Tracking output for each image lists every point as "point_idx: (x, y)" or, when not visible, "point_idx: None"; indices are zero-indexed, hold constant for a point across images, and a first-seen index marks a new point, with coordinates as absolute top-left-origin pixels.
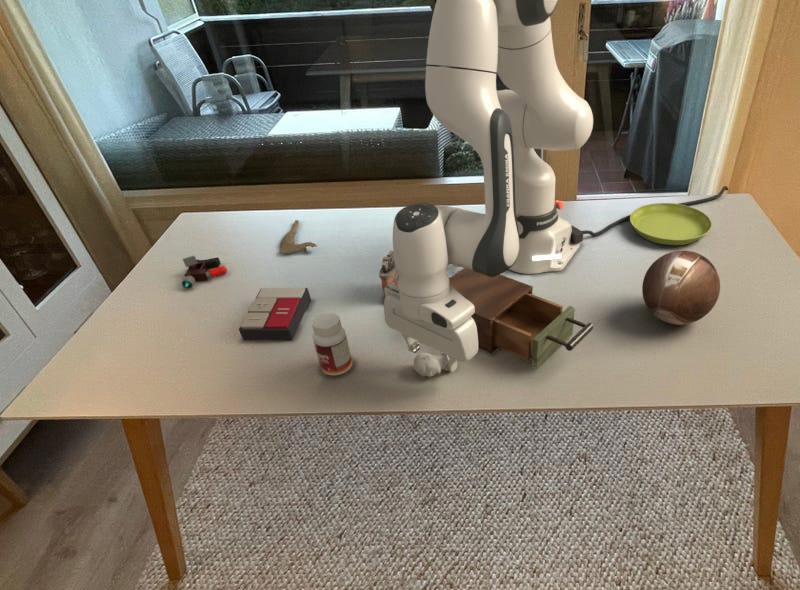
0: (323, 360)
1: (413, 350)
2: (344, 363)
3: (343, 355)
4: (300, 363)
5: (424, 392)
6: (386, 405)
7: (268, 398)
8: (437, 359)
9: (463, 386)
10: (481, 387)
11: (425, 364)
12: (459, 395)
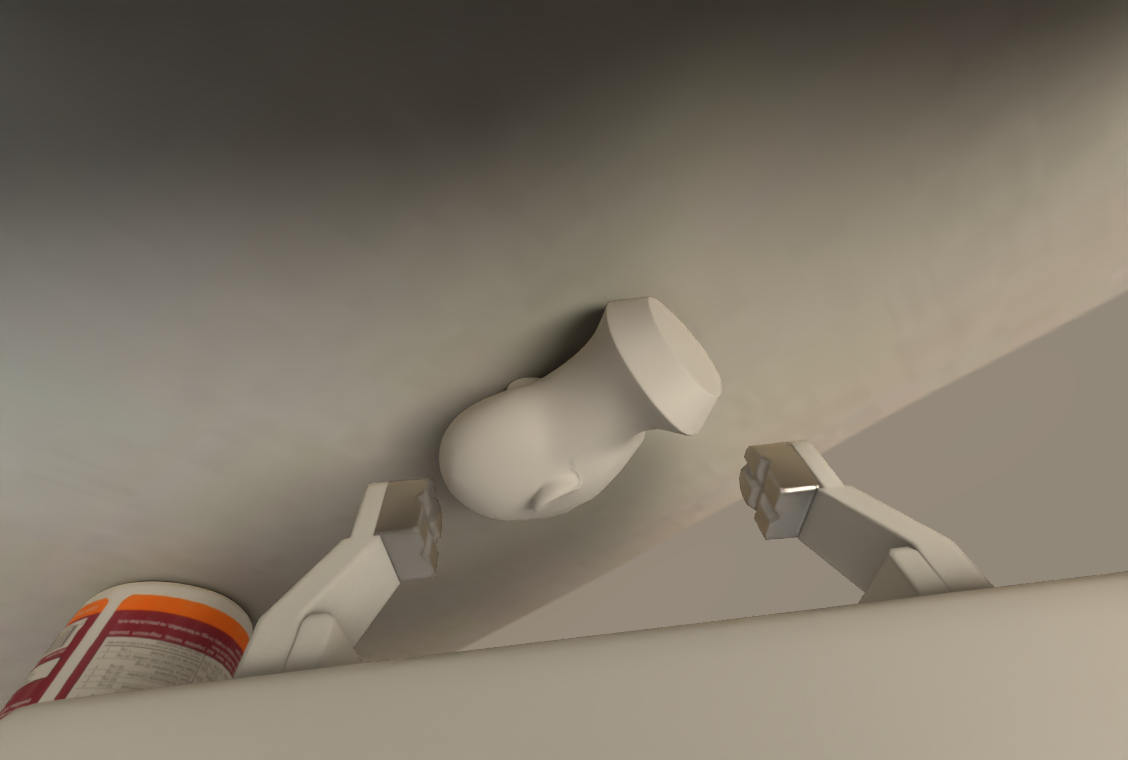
0: None
1: (435, 541)
2: (227, 672)
3: None
4: None
5: (633, 495)
6: (556, 598)
7: None
8: (610, 446)
9: (791, 366)
10: (898, 310)
11: (573, 506)
12: (800, 418)
